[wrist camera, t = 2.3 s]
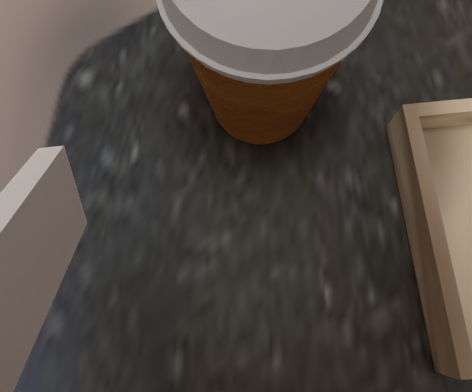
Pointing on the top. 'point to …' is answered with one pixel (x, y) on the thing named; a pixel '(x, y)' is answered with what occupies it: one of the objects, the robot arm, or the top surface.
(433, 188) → the birch tray
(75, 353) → the top surface
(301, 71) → the disposable coffee cup
